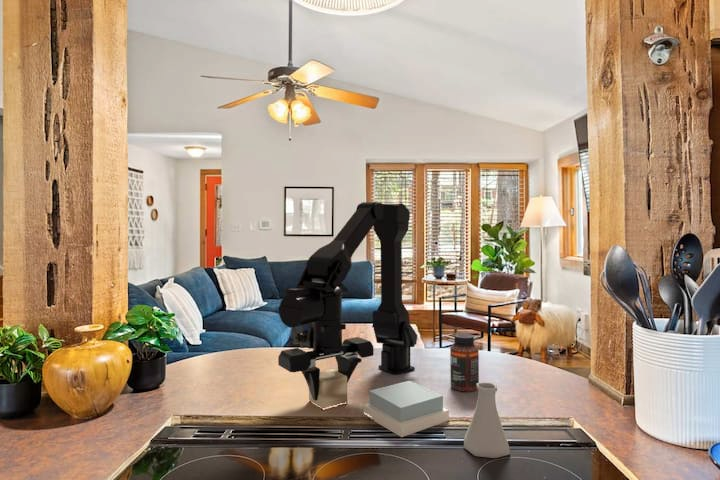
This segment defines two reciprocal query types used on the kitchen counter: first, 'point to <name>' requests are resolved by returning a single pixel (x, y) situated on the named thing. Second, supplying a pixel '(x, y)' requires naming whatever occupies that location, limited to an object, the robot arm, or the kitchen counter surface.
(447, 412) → the bottom block
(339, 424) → the kitchen counter surface
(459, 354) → the supplement bottle
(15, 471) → the kitchen counter surface
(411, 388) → the top block
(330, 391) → the maple cube
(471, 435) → the flask
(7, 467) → the kitchen counter surface
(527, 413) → the kitchen counter surface
